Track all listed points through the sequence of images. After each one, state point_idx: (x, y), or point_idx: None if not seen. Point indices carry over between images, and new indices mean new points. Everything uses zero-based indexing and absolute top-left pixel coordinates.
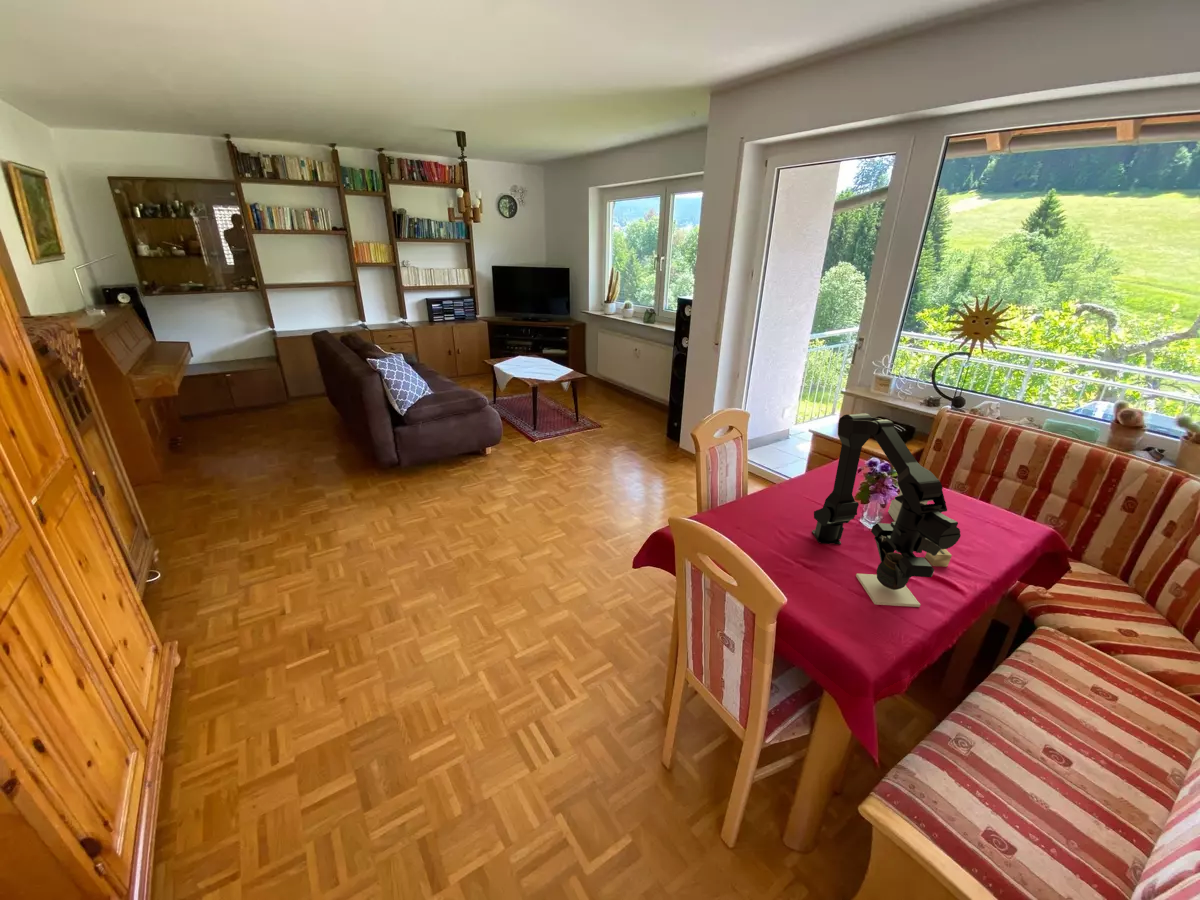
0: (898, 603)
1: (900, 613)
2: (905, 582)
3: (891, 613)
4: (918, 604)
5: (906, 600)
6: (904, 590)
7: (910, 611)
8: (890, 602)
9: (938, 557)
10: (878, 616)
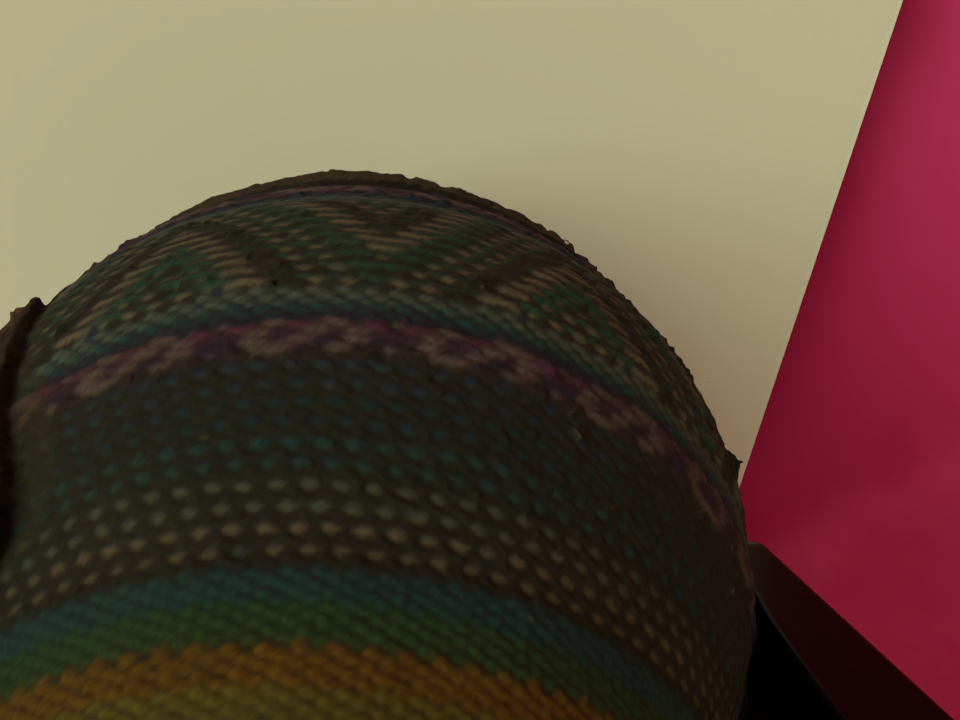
0: (781, 359)
1: (921, 377)
2: (737, 482)
3: (883, 489)
4: None
5: (746, 182)
6: (441, 26)
7: (933, 197)
8: (741, 470)
9: None
10: (882, 642)
